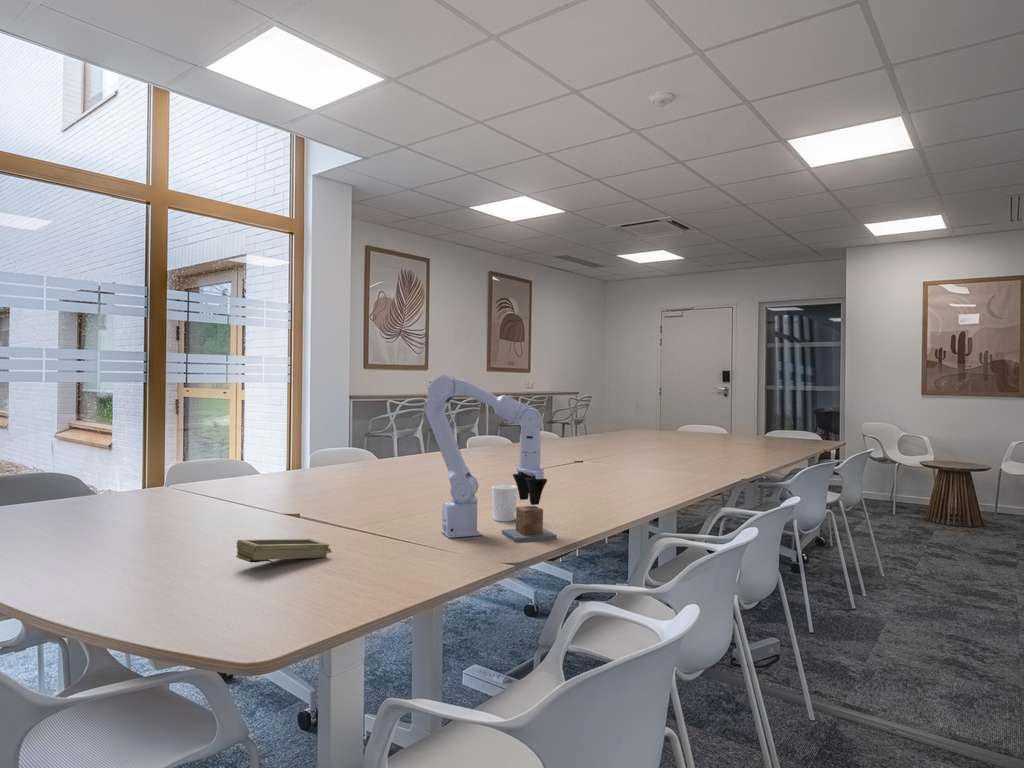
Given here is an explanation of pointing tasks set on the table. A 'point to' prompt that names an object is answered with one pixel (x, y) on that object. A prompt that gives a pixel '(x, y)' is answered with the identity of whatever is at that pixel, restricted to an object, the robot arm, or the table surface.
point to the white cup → (504, 502)
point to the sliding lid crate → (529, 520)
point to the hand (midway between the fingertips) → (529, 501)
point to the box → (280, 549)
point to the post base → (519, 537)
